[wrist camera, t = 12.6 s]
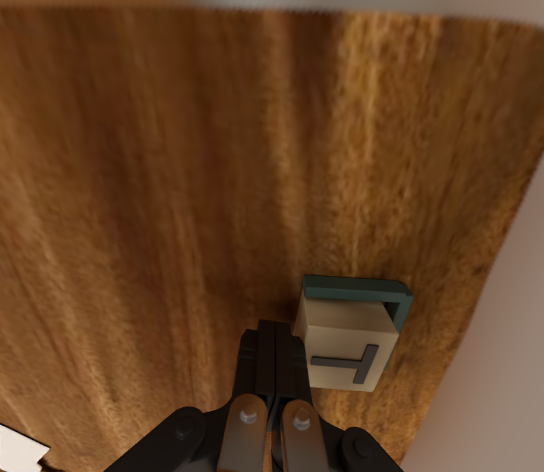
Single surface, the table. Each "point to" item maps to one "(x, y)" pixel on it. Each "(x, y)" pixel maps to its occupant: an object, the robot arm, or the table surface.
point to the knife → (19, 452)
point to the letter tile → (345, 341)
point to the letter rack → (363, 294)
